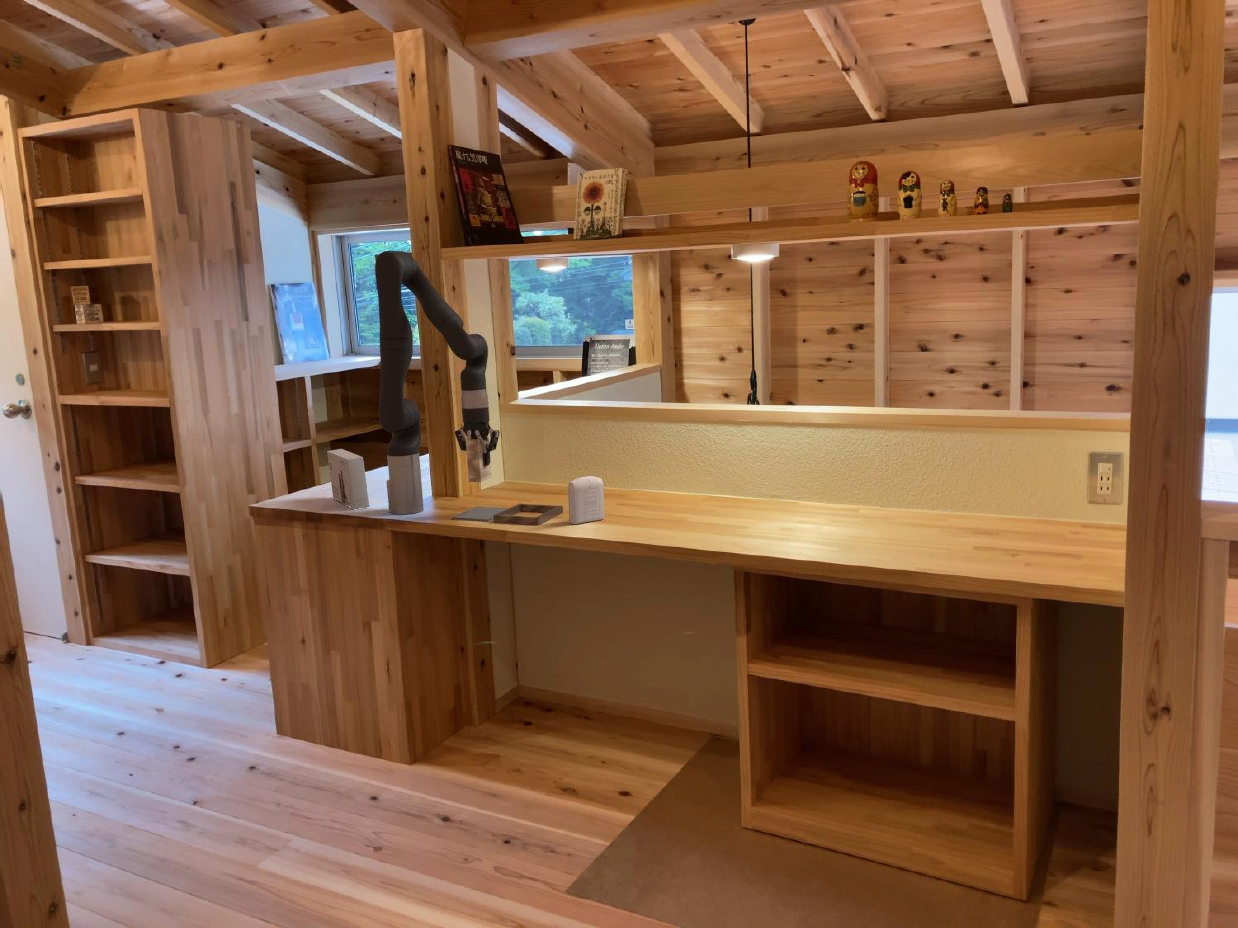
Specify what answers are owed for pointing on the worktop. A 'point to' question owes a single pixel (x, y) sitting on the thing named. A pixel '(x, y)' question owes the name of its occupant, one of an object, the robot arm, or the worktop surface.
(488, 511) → the grey mat
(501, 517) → the frame
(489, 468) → the block
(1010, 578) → the worktop surface
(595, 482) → the photo printer
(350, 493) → the skincare box
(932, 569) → the worktop surface
